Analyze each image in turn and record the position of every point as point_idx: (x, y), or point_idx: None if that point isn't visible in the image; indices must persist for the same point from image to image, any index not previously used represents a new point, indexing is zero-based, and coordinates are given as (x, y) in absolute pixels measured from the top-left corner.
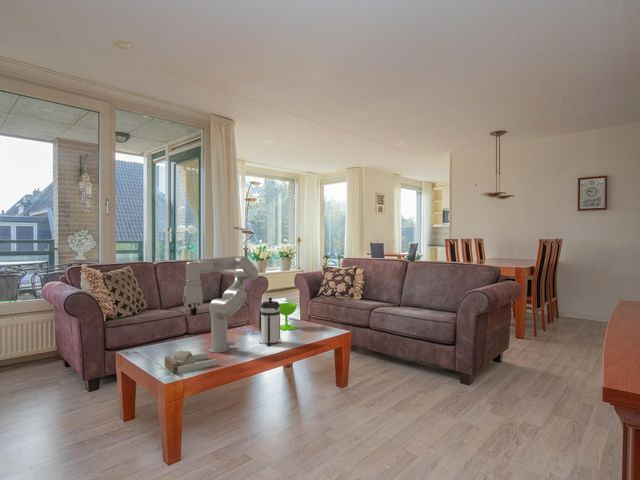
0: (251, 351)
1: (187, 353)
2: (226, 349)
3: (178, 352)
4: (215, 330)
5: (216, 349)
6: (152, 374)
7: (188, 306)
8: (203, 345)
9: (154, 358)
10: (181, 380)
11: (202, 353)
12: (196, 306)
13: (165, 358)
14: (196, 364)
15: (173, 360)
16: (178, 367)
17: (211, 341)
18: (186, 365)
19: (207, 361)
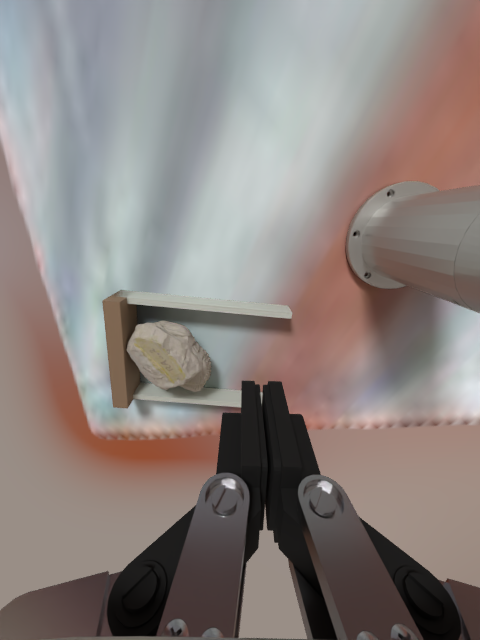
0: (454, 351)
1: (176, 381)
2: (402, 285)
3: (148, 346)
4: (431, 281)
5: (368, 265)
6: (67, 345)
7: (153, 547)
8: (405, 71)
9: (100, 135)
10: (135, 439)
11: (273, 312)
12: (315, 578)
13: (105, 310)
14: (200, 402)
15: (123, 370)
16: (137, 398)
17: (388, 222)
18: (164, 400)
19: (239, 406)
